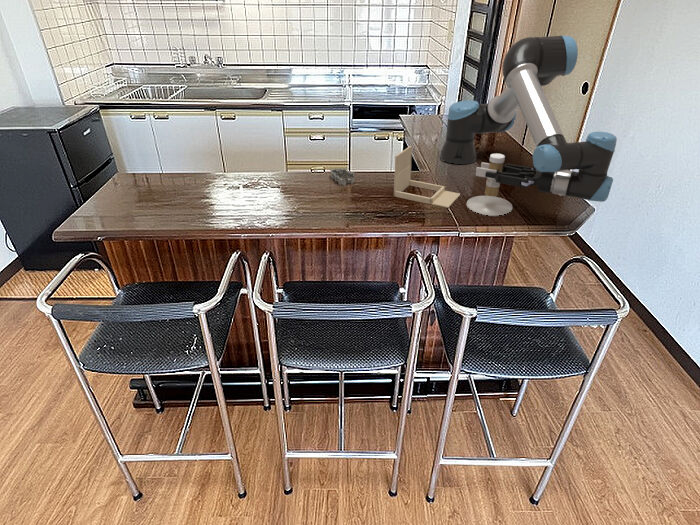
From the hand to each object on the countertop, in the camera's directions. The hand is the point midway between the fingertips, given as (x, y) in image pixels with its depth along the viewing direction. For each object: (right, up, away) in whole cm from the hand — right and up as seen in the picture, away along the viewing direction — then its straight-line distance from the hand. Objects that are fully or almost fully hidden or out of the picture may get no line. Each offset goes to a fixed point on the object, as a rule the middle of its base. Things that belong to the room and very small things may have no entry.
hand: (478, 168), depth 145 cm
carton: (-15, -7, +13) cm, 21 cm away
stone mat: (+5, -12, +4) cm, 14 cm away
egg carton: (-46, +1, +28) cm, 53 cm away
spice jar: (+5, -8, +2) cm, 10 cm away
